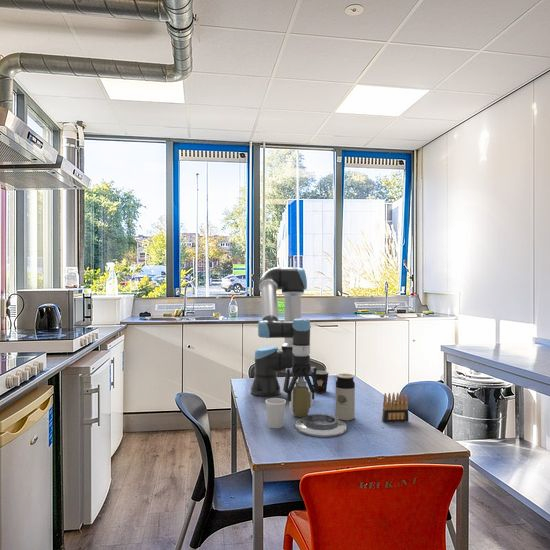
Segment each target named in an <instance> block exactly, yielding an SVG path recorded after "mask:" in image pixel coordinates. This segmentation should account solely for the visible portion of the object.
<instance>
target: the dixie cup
mask: <svg viewBox="0 0 550 550" xmlns="http://www.w3.org/2000/svg"><path fill="white" fill-rule="evenodd" d="M286 403H287V400H286V399H284V398H282V397H281V398H280V397H270V398H266V400H265V408H266V415H267V423H268V424H267V425H268V427H269V428H270V427H271V428H270V429H281V428H283V426H284V419H285V411H286Z"/></svg>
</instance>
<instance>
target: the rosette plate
mask: <svg viewBox="0 0 550 550" xmlns="http://www.w3.org/2000/svg"><path fill="white" fill-rule="evenodd" d="M335 416H336V415H335ZM335 416H334V415H332V414H326V413H312V414H308V415H307V416H305V417H300V418H298V419H297V420H296V421H295V422H294V423H295V424H294V425H295V430H296V431H297V432H298V433H300V434H302V435H305V436H308V437H316V438H332V436H335V437H339V436H341V434H342V435H344V434H345V433H346V432H347V424H346V423H345V422H344V420H340V419H337V418H336V417H335ZM343 433H344V434H343ZM338 435H339V436H338Z"/></svg>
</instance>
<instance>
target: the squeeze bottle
mask: <svg viewBox="0 0 550 550" xmlns="http://www.w3.org/2000/svg"><path fill="white" fill-rule="evenodd" d="M309 391H310V389H309V387H308V386H307V382H306V380H305V378H304V377H298V379H297V381H296V383H295V386H294V388H293V391H292V394H293V410H291V411H292V414H293V416H294V417H296V418H304V417H305V416H307V415H309V413H310V409H311V408H310V401H309Z"/></svg>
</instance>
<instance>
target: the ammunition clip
mask: <svg viewBox="0 0 550 550" xmlns="http://www.w3.org/2000/svg"><path fill="white" fill-rule="evenodd" d="M382 404H383V407H382V408H383V409H382V415H381V416H382V418H381V421H382V423H384V422H393V423H408V422H407V421H409V422H410V420H409V403H408V394H407V392H405V393H404V394H403V392H401V393H400V394H399V392H397V393H396V395H395V392H393V393H392V395H391V392H388V396H387V393H386V392H385V393H384V395H383V403H382ZM405 421H406V422H405Z"/></svg>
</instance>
